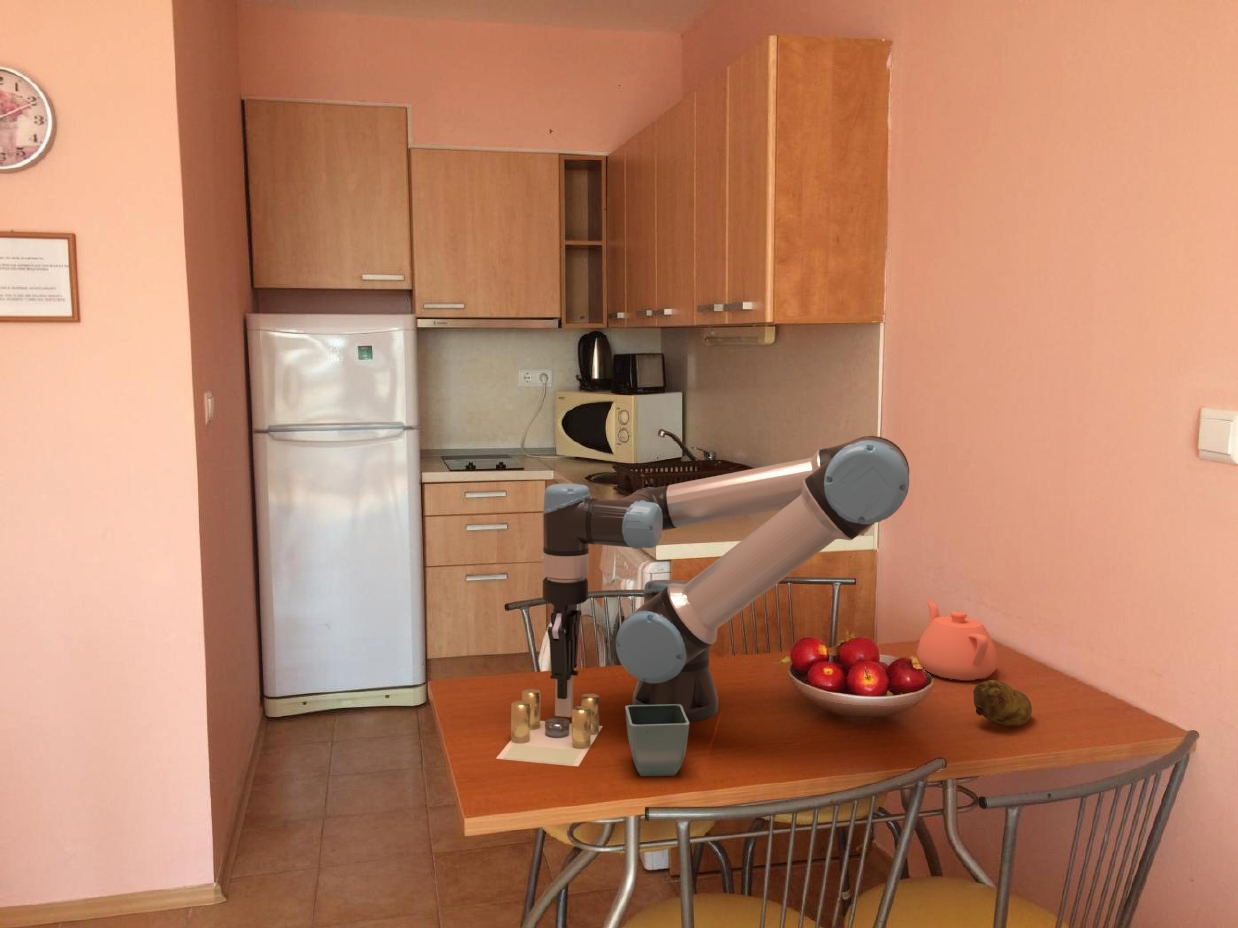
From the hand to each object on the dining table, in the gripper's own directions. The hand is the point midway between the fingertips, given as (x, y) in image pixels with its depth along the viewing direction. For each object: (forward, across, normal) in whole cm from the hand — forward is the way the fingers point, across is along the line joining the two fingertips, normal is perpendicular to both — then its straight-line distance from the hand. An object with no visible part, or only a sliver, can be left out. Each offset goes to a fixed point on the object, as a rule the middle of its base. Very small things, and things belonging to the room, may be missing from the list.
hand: (563, 714), depth 173 cm
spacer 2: (+1, +3, -5) cm, 6 cm away
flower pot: (+2, +15, +18) cm, 24 cm away
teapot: (+2, -48, +68) cm, 83 cm away
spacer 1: (+1, +9, -5) cm, 10 cm away
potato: (+2, -19, +73) cm, 75 cm away
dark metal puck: (+1, +5, 0) cm, 5 cm away
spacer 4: (+1, +9, +5) cm, 11 cm away
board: (+2, +9, 0) cm, 9 cm away
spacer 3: (+1, +3, +5) cm, 6 cm away
